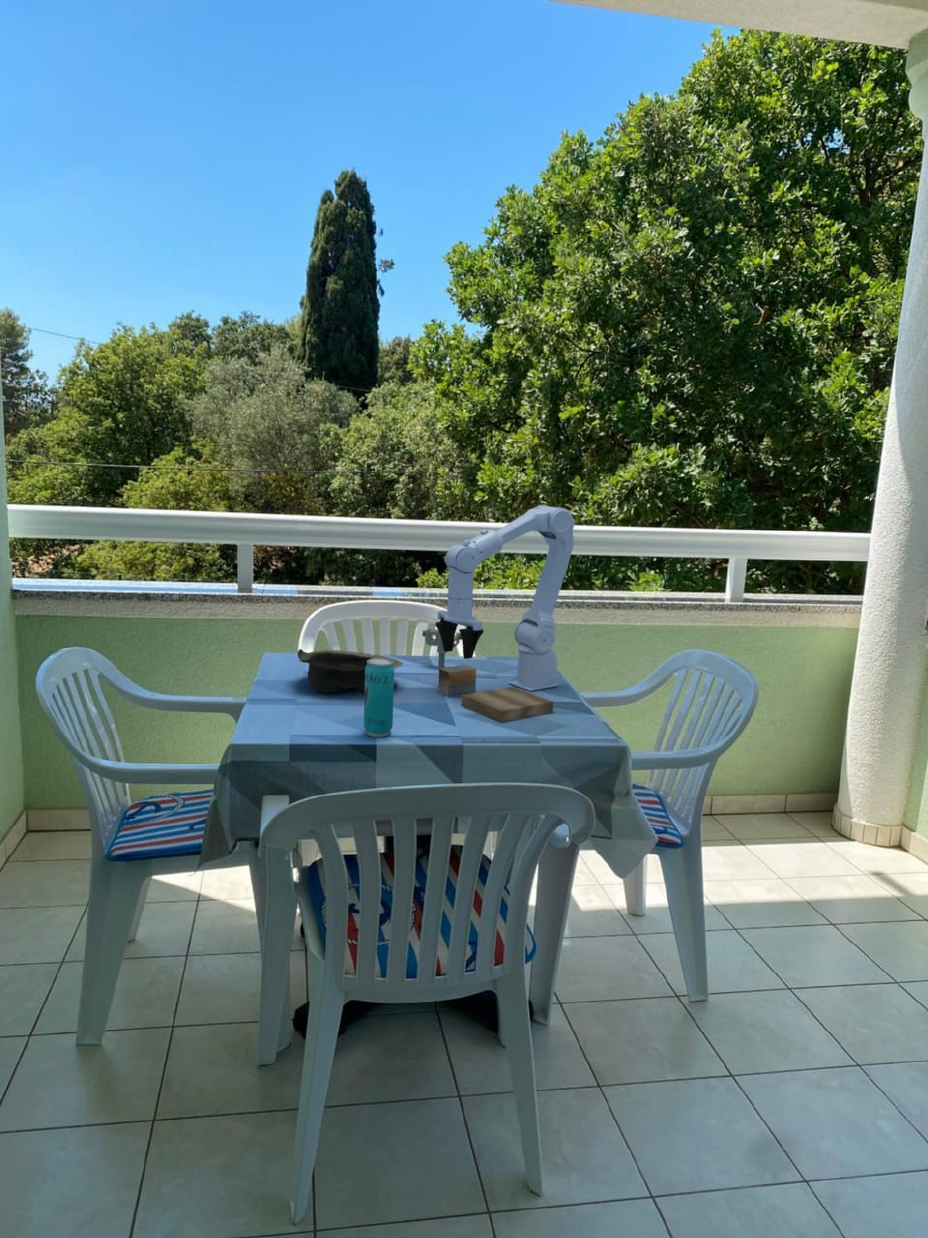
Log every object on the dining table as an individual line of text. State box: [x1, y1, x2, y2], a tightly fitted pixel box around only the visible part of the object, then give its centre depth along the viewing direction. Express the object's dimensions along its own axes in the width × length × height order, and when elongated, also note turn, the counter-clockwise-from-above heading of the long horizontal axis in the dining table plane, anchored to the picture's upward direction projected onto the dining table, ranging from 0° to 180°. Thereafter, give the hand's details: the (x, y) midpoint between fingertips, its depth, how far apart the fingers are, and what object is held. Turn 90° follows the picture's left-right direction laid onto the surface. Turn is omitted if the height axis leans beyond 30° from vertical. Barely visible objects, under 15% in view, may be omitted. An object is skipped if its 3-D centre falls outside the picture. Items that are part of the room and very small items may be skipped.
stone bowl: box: [297, 648, 404, 695], centre depth 215 cm, size 25×25×9 cm
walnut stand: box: [461, 685, 554, 723], centre depth 203 cm, size 15×14×2 cm
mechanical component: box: [422, 628, 462, 670], centre depth 235 cm, size 3×10×10 cm, turn 78°
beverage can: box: [363, 658, 395, 738], centre depth 181 cm, size 6×6×15 cm
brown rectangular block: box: [437, 664, 477, 698], centre depth 214 cm, size 8×4×6 cm, turn 128°
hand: (458, 654), depth 212 cm, fingers open, 7 cm apart
